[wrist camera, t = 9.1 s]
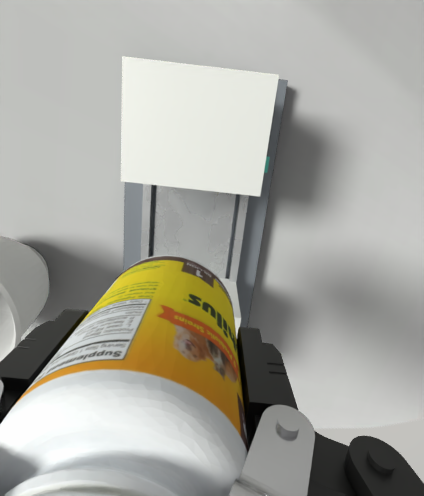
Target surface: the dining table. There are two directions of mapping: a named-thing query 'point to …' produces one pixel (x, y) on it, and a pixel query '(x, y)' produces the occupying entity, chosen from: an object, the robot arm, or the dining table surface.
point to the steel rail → (194, 226)
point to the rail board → (251, 228)
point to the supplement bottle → (136, 395)
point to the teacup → (19, 291)
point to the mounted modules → (196, 129)
